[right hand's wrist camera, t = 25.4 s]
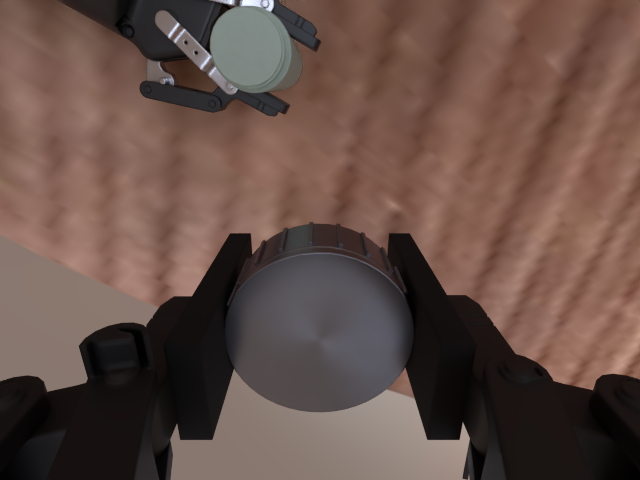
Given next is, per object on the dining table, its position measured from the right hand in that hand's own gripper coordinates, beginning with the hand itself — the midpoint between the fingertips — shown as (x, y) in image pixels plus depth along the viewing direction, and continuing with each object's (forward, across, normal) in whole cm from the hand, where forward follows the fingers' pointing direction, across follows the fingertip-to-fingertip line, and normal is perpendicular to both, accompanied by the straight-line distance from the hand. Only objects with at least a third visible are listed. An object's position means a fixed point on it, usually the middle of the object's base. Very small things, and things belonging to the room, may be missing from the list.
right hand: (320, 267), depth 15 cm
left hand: (+19, +1, -7) cm, 20 cm away
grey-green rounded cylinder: (+25, +4, -8) cm, 26 cm away
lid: (-4, 0, 0) cm, 4 cm away
